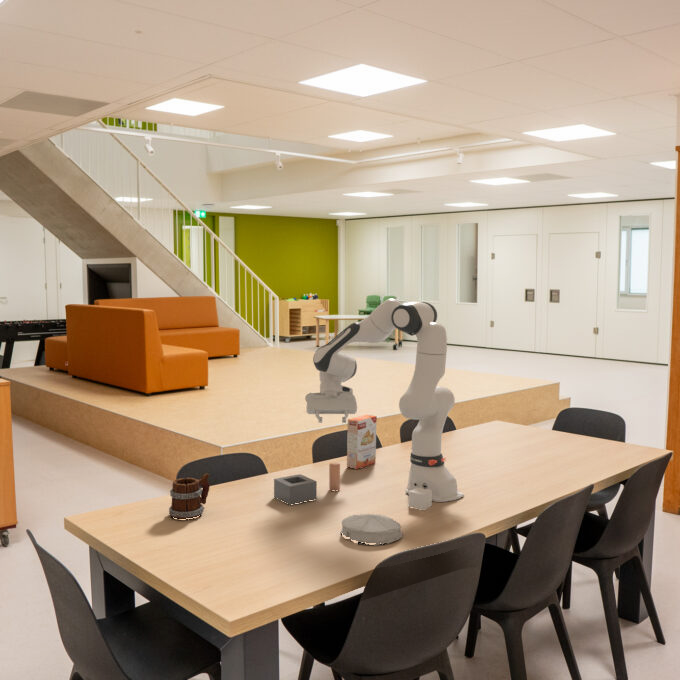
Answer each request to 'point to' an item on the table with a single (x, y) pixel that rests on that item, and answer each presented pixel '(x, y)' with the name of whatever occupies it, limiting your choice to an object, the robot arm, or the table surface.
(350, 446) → the cracker box
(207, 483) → the mug
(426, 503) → the white cube
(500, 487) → the table surface
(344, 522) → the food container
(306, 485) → the socket box
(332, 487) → the peg
